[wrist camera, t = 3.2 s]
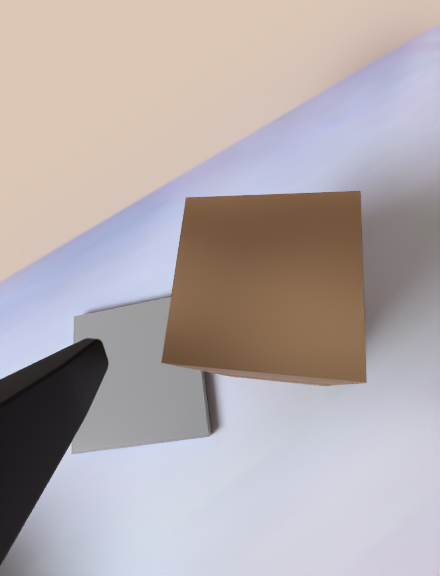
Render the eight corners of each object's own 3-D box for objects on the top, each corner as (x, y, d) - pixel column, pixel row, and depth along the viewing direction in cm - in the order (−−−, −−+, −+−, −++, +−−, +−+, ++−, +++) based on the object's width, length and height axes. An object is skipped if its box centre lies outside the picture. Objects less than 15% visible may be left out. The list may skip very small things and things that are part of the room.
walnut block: (323, 385, 16) (366, 382, 7) (230, 376, 18) (161, 363, 8) (324, 294, 18) (360, 191, 8) (238, 291, 19) (186, 197, 10)
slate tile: (211, 434, 17) (208, 436, 16) (78, 452, 18) (71, 454, 17) (194, 294, 19) (192, 292, 19) (80, 318, 21) (74, 316, 20)
